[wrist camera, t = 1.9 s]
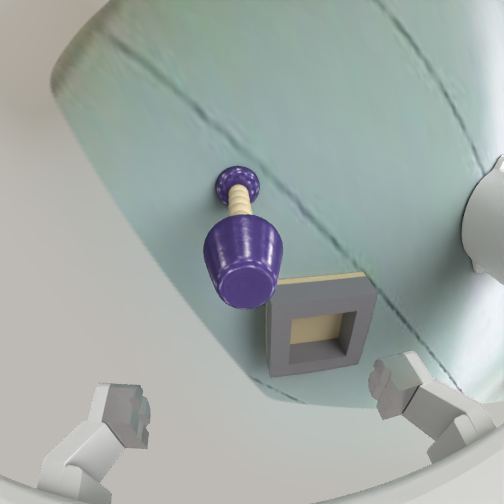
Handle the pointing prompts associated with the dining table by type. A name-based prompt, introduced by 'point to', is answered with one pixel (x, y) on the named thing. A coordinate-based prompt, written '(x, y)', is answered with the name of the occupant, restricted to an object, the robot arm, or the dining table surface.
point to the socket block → (318, 323)
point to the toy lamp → (242, 245)
